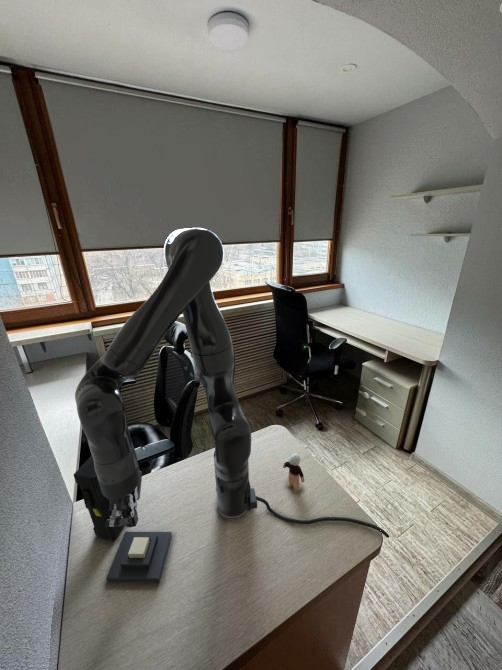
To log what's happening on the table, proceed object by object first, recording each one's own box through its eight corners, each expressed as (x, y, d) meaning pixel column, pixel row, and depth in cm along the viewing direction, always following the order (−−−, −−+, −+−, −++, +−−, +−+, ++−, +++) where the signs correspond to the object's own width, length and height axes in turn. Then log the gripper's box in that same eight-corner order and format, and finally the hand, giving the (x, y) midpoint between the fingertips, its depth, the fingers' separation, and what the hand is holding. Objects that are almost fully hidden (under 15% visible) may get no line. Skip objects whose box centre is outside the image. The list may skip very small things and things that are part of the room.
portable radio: (112, 546, 68) (89, 475, 59) (92, 541, 69) (65, 471, 60) (131, 516, 75) (113, 448, 66) (112, 512, 76) (91, 444, 67)
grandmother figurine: (306, 486, 83) (309, 456, 78) (302, 496, 80) (304, 465, 75) (284, 475, 87) (286, 445, 82) (279, 484, 84) (280, 454, 79)
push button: (171, 535, 70) (170, 527, 69) (159, 582, 61) (157, 573, 60) (126, 535, 71) (124, 527, 69) (107, 582, 61) (104, 573, 60)
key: (149, 541, 66) (148, 537, 66) (144, 558, 63) (143, 553, 62) (135, 541, 66) (134, 537, 66) (129, 558, 63) (127, 553, 62)
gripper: (121, 497, 48) (137, 556, 55) (147, 442, 60) (158, 495, 67) (79, 497, 48) (101, 556, 55) (114, 442, 60) (128, 495, 67)
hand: (132, 523), depth 61 cm, fingers closed
